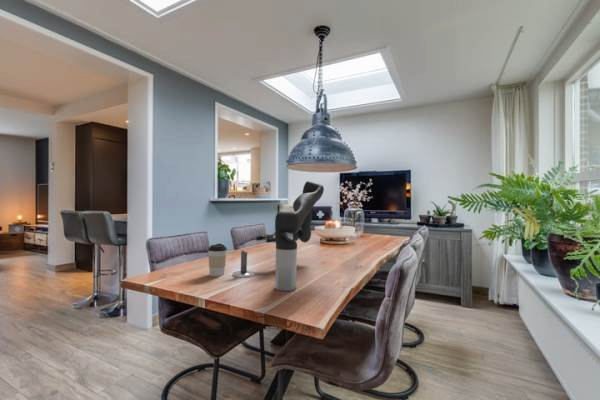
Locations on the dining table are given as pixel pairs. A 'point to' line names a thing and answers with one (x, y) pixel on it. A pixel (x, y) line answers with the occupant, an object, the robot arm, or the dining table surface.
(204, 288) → the dining table surface
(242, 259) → the grey post on base
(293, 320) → the dining table surface
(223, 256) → the coffee cup
